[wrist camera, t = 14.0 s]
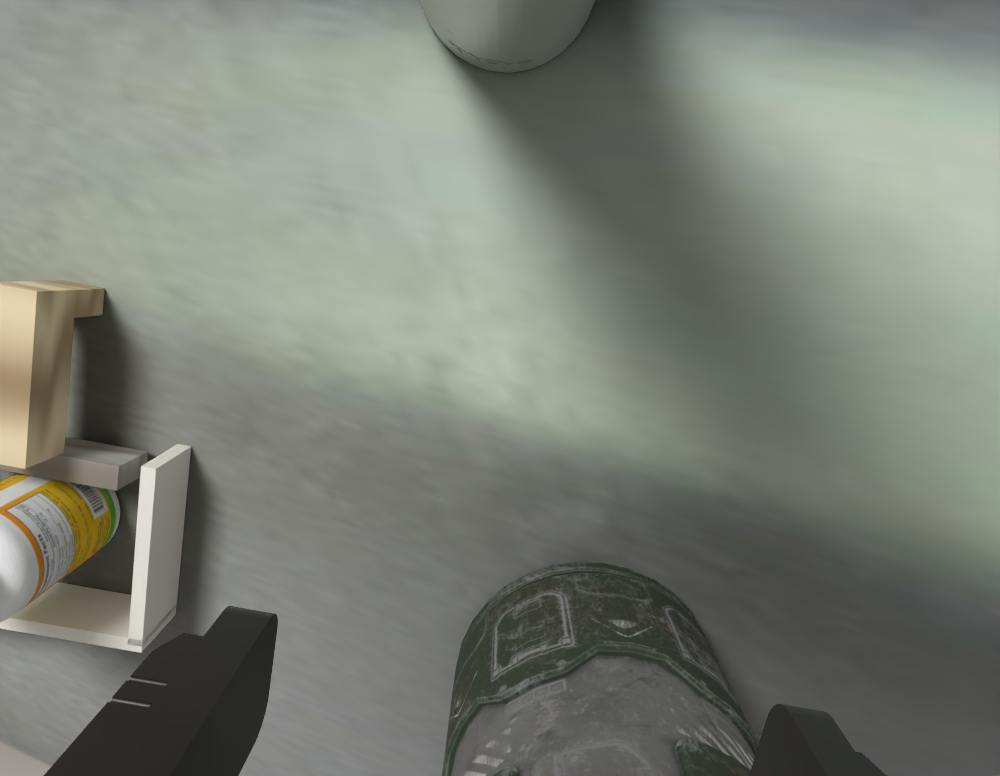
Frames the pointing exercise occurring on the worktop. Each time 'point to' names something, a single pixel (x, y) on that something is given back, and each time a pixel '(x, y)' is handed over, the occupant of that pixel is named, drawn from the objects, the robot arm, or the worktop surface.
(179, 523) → the box
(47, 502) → the supplement bottle
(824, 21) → the worktop surface
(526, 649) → the canister
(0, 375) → the scraper
